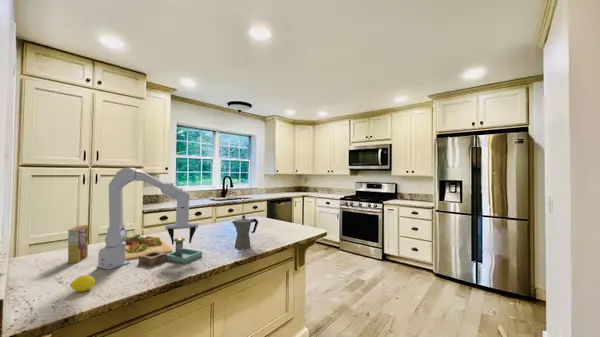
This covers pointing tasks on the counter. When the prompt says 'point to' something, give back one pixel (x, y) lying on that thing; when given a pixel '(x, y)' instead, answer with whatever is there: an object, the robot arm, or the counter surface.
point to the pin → (179, 247)
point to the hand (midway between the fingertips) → (181, 243)
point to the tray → (184, 256)
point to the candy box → (77, 243)
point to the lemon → (82, 283)
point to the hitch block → (152, 258)
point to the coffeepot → (243, 232)
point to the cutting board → (144, 246)
